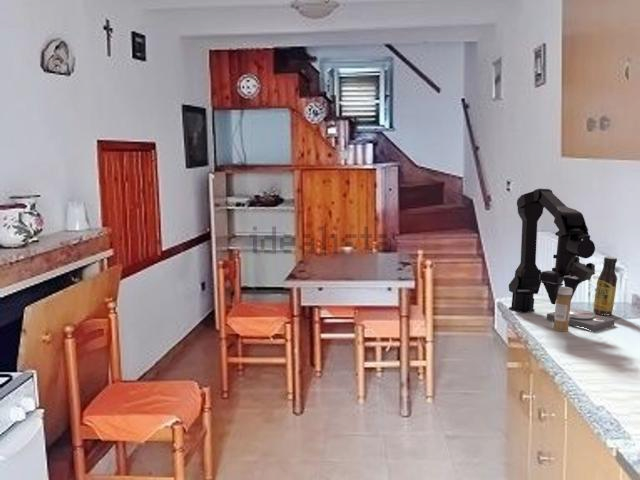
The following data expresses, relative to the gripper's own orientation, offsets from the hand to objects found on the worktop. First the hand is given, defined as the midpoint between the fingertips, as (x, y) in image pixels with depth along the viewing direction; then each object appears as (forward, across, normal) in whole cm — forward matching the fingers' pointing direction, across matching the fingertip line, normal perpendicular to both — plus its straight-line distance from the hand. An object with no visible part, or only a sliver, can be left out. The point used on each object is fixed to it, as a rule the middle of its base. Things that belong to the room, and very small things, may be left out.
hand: (561, 302), depth 216 cm
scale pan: (+7, +15, +3) cm, 17 cm away
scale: (+9, +15, +1) cm, 17 cm away
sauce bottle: (+9, +34, +3) cm, 35 cm away
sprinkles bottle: (+9, 0, -1) cm, 9 cm away
